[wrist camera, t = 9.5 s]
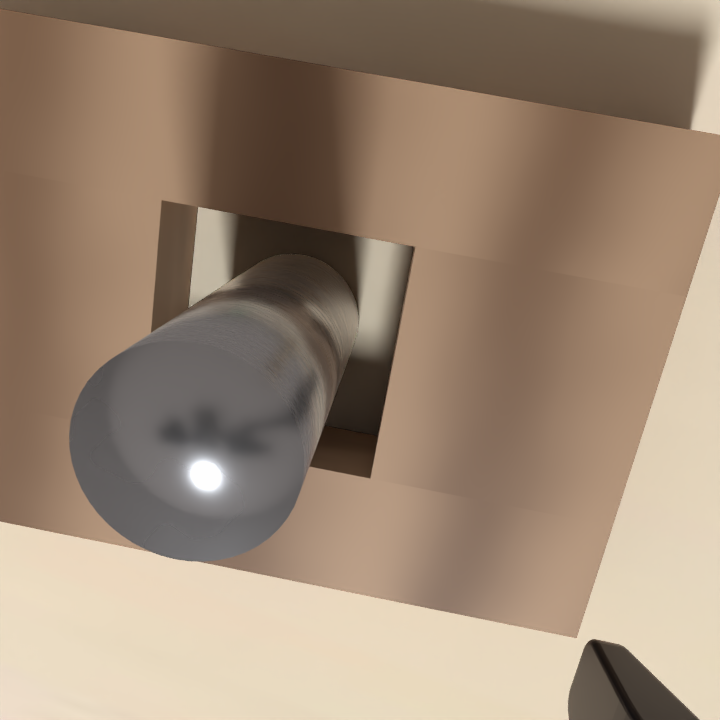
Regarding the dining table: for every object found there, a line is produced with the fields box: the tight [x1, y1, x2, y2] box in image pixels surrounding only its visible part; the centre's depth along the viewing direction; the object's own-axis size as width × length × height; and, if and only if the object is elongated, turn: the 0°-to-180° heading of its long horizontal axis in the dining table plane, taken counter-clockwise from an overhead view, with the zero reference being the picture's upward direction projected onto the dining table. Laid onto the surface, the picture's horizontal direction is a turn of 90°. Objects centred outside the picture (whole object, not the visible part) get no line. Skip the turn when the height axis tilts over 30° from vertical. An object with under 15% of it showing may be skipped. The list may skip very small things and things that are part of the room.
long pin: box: [69, 254, 359, 562], centre depth 16 cm, size 4×4×10 cm
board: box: [0, 9, 720, 638], centre depth 19 cm, size 20×14×3 cm
